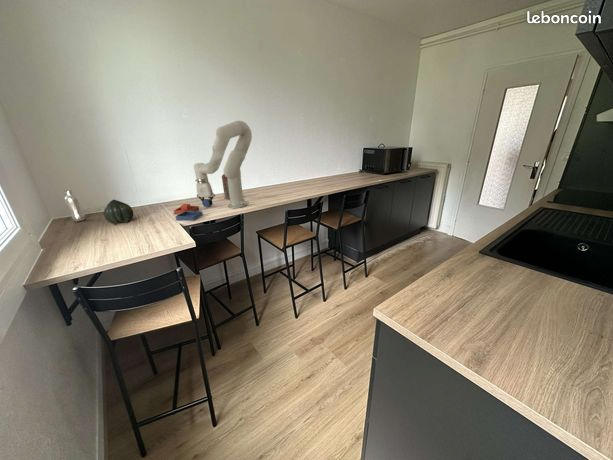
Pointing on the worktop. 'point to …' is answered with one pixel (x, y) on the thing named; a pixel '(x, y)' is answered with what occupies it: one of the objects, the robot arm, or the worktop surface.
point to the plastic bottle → (74, 206)
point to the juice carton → (225, 187)
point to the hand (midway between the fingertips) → (207, 205)
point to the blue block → (206, 202)
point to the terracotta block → (186, 207)
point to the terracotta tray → (179, 211)
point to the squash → (118, 212)
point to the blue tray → (189, 215)
